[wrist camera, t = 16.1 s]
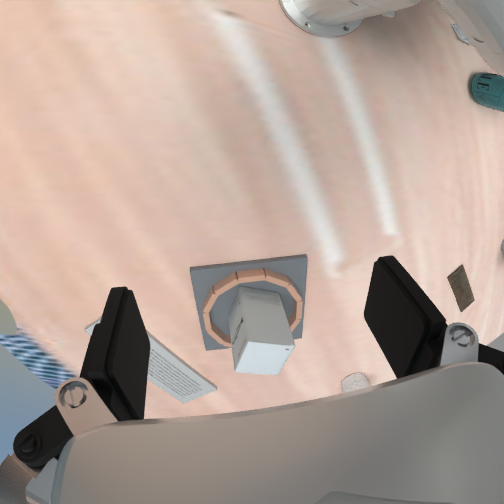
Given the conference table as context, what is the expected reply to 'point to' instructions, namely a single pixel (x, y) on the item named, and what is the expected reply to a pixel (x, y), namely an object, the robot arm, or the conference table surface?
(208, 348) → the ring holder
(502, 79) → the beverage bottle
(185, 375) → the plaque
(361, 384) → the white cup
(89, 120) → the conference table surface
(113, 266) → the conference table surface
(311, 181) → the conference table surface
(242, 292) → the supplement box
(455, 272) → the wooden plank
